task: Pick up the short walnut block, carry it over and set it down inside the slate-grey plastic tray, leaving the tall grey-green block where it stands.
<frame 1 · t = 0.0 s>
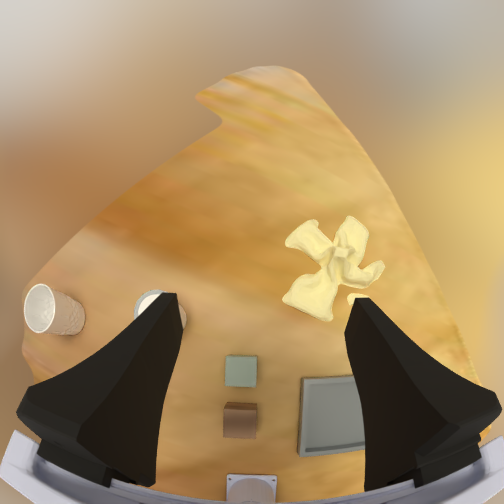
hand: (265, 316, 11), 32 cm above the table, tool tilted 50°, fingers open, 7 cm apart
cloth: (340, 265, 46), on the table
tray: (345, 412, 37), on the table
tall block: (243, 367, 40), on the table
short block: (241, 416, 37), on the table
white cup: (72, 317, 42), on the table
shot glass: (170, 319, 43), on the table
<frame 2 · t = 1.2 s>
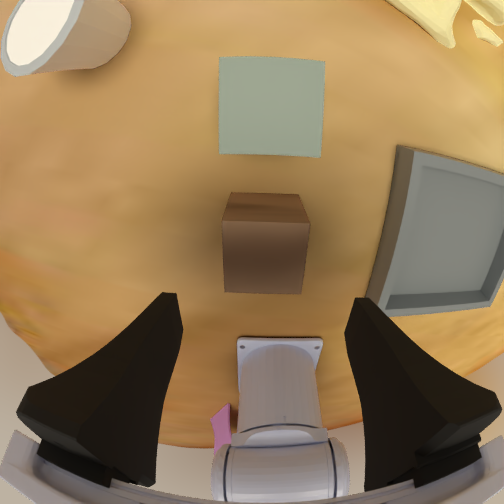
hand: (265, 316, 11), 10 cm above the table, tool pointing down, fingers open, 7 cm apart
tray: (453, 235, 19), on the table
tall block: (267, 107, 15), on the table
short block: (263, 223, 19), on the table
toy chair: (247, 418, 34), on the table
shot glass: (98, 35, 12), on the table
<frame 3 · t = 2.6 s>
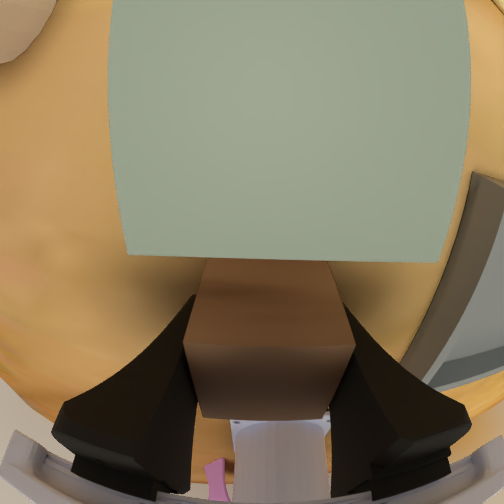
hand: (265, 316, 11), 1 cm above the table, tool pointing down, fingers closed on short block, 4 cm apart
tall block: (273, 98, 8), on the table
short block: (265, 294, 12), on the table, touching gripper
toy chair: (245, 466, 27), on the table
shot glass: (23, 13, 5), on the table
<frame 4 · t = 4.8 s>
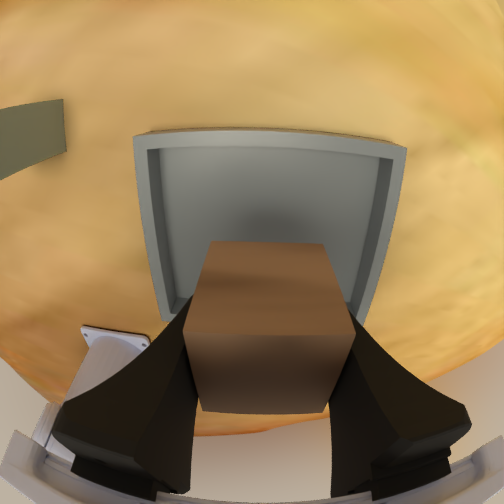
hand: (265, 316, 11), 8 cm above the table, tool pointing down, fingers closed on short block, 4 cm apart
tray: (267, 228, 18), on the table
tall block: (46, 130, 15), on the table
short block: (265, 287, 12), point 7 cm above the table, touching gripper
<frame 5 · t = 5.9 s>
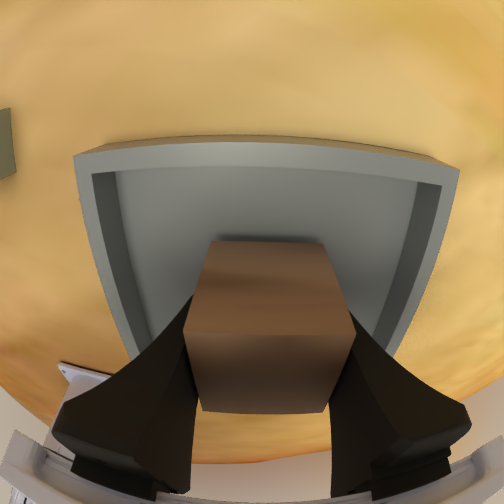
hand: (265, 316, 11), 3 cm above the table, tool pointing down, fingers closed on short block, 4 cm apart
tray: (265, 271, 14), on the table
short block: (265, 287, 12), point 2 cm above the table, touching gripper
when the fingers open (3 cm above the table, at t = 6.7 s): short block stays where it is, resting on tray.
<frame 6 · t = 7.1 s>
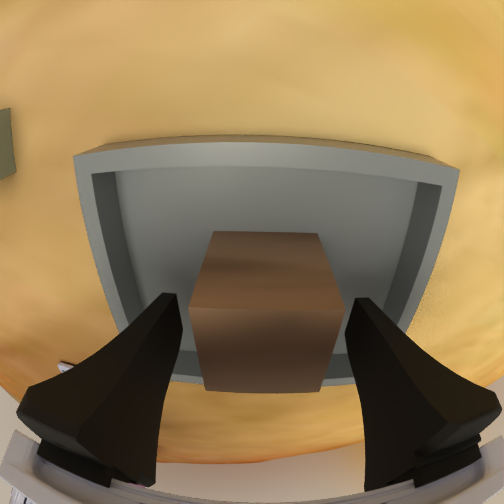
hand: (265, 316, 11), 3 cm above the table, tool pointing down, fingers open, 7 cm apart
tray: (265, 271, 14), on the table
short block: (264, 275, 13), point 1 cm above the table, touching tray
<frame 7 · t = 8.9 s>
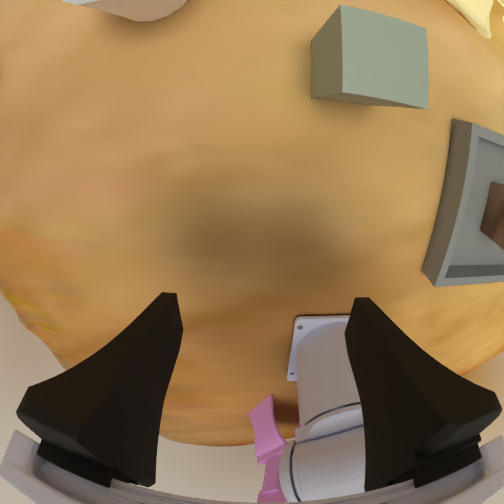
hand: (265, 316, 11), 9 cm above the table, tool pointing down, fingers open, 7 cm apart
tray: (495, 207, 17), on the table
tall block: (342, 72, 14), on the table
short block: (499, 208, 17), point 1 cm above the table, touching tray
toy chair: (287, 409, 32), on the table
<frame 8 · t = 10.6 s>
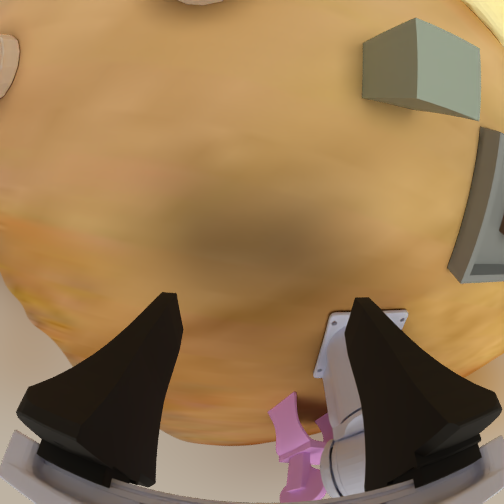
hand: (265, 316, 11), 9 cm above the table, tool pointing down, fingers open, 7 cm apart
tall block: (390, 76, 14), on the table
white cup: (1, 68, 12), on the table
toy chair: (307, 407, 32), on the table
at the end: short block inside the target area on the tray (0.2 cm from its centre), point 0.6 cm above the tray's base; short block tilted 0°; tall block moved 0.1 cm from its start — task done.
